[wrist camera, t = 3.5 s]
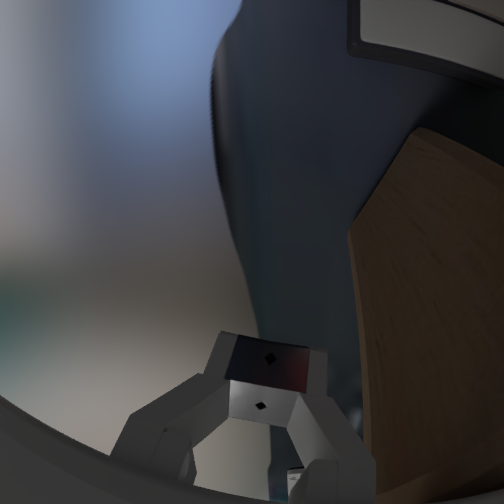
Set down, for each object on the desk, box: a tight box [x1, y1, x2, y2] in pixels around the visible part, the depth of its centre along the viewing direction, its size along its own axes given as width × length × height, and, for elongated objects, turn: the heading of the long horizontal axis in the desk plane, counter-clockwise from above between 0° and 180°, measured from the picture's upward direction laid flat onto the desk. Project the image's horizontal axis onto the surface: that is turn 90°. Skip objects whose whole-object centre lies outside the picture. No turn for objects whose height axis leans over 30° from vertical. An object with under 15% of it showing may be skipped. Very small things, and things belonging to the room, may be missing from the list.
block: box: [347, 127, 504, 504], centre depth 13 cm, size 10×10×20 cm
